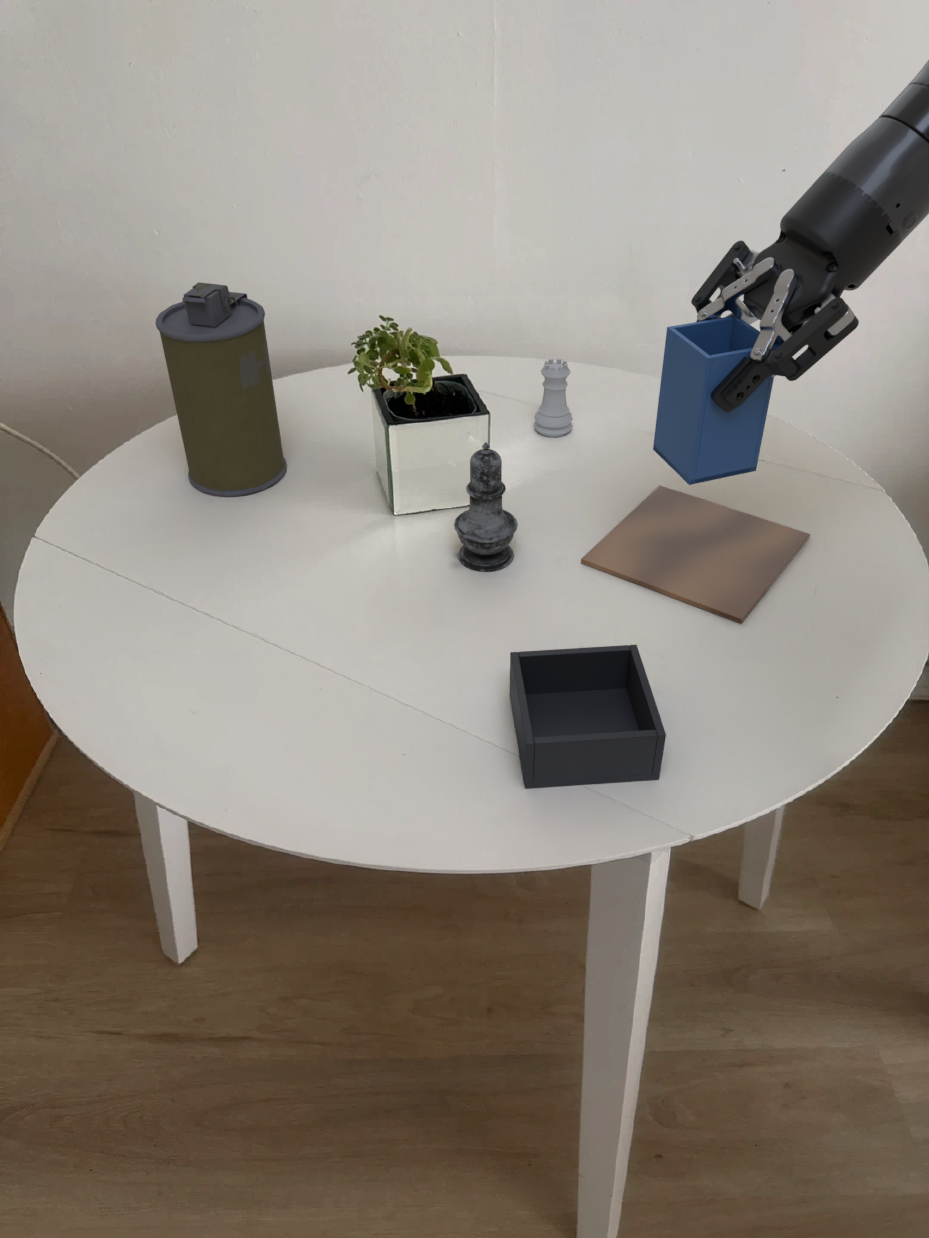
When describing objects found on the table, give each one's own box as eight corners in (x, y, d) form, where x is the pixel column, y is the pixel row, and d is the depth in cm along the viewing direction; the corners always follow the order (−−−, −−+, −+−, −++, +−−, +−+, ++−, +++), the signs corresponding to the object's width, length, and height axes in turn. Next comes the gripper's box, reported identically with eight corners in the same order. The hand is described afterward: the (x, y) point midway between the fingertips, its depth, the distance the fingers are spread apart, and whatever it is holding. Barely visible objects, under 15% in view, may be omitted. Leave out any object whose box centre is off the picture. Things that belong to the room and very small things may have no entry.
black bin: (631, 688, 80) (636, 644, 77) (659, 779, 72) (666, 734, 69) (509, 695, 79) (510, 651, 76) (524, 788, 71) (526, 743, 69)
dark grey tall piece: (446, 567, 93) (443, 454, 85) (465, 534, 97) (463, 423, 90) (507, 578, 91) (509, 463, 84) (523, 543, 96) (526, 431, 88)
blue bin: (716, 436, 83) (736, 315, 77) (756, 471, 79) (780, 345, 72) (652, 449, 82) (666, 326, 75) (689, 485, 77) (707, 358, 71)
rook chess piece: (579, 425, 114) (583, 360, 109) (561, 442, 111) (564, 375, 106) (545, 416, 116) (547, 351, 111) (526, 432, 113) (528, 366, 108)
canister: (259, 503, 102) (227, 314, 90) (170, 488, 105) (127, 302, 92) (304, 453, 110) (281, 273, 98) (220, 440, 113) (187, 263, 100)
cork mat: (809, 538, 96) (810, 533, 95) (741, 624, 86) (742, 619, 85) (659, 489, 103) (659, 485, 103) (580, 563, 93) (580, 558, 93)
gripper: (781, 145, 74) (624, 323, 79) (909, 199, 64) (719, 401, 68) (826, 210, 79) (675, 374, 83) (953, 271, 68) (772, 455, 73)
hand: (696, 385), depth 76 cm, fingers closed on blue bin, 6 cm apart
